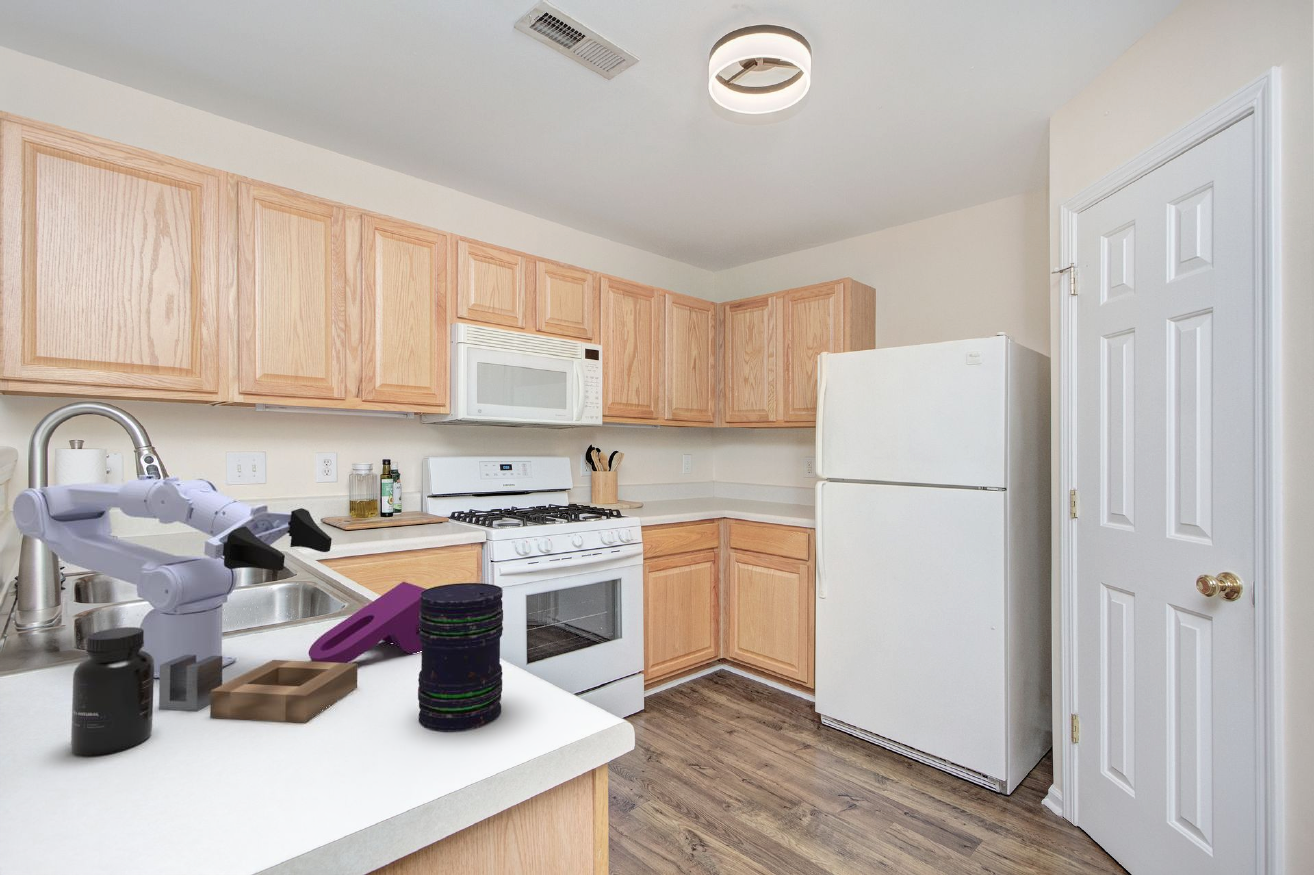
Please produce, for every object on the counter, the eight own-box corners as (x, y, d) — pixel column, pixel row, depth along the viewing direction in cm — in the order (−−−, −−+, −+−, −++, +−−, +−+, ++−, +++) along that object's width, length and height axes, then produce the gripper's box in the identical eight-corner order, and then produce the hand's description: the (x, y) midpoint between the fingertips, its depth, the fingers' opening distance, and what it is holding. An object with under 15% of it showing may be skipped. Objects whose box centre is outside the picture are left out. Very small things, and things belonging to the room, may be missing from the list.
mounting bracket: (349, 711, 94) (452, 633, 106) (323, 665, 91) (431, 590, 103) (323, 693, 100) (423, 622, 112) (298, 650, 97) (403, 581, 109)
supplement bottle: (61, 763, 66) (62, 645, 66) (82, 736, 72) (84, 628, 72) (145, 749, 69) (146, 637, 69) (159, 724, 75) (160, 621, 75)
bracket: (158, 710, 79) (159, 665, 80) (185, 697, 83) (186, 654, 84) (196, 712, 79) (197, 666, 79) (221, 699, 83) (222, 656, 83)
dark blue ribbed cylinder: (398, 724, 76) (400, 596, 76) (452, 693, 85) (453, 580, 85) (470, 738, 73) (471, 605, 73) (517, 705, 82) (519, 586, 82)
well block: (210, 717, 77) (210, 690, 77) (273, 683, 88) (273, 659, 88) (305, 722, 76) (305, 695, 76) (357, 687, 87) (357, 663, 87)
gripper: (181, 507, 84) (261, 543, 80) (279, 483, 97) (351, 512, 93) (178, 557, 85) (256, 594, 81) (274, 526, 99) (345, 556, 95)
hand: (306, 553), depth 88 cm, fingers open, 7 cm apart
